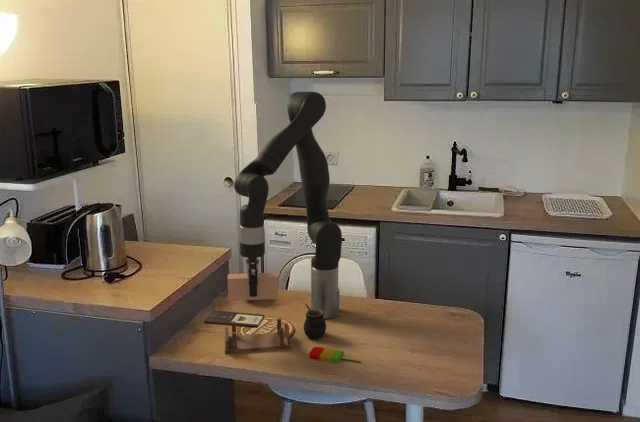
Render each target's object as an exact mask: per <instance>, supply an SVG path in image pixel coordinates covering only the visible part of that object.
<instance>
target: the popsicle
mask: <svg viewBox="0 0 640 422" xmlns="http://www.w3.org/2000/svg"><path fill="white" fill-rule="evenodd" d="M308 354H309V356H308V357H309V359H311V360H317V361H322V362H327V363H332V364H333V363H335V364H339V363H340V361H341V360H346V361H353V362H359V363H360V362H361V359H360V358H353V357H350V356H349V357H347V356H344V354H345V352H344V350H342V349H335V348H328V347H322V346H314V347H312V349H311V350H310V351H309V353H308Z"/></svg>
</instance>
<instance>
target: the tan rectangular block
mask: <svg viewBox="0 0 640 422" xmlns="http://www.w3.org/2000/svg"><path fill="white" fill-rule="evenodd" d="M251 281H256V280H251ZM257 282H258V284H257V296H256V297H250V287H249V278H248V277H247V273H228V274H227V298H228V299H227V301H228V302H232V301H255V300H258V301H260V300H277V299H279V276H278V271H277V272H259V277H257Z"/></svg>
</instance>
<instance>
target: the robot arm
mask: <svg viewBox="0 0 640 422" xmlns="http://www.w3.org/2000/svg"><path fill="white" fill-rule="evenodd" d="M326 103H327V102H326V99H325V97H324V96H323V95H322V94H321V93H319V92H317V91H295V92H293V93H291V94H290V96H289V97H288V99H287V103H286V104H287V106H286V108H287V115H288V120H289V124H288V125H287V126H286V127H284V128H283V129H282V130H280V131H279V132H278V133H276V135H273V137H271V138H270V140H268V142H266V144H265V145H264V147H263V148H262V150H261V151H260V152H259V153H258V155H257V157H256V158H254V160H252V161H251V162H249V163H248V164H247V165H246V166H245V167H243V168H242V170H241V171H240V172H239V173H238V174H237V176H236V177H235V179H234V183H233V188H234V191H235V193H237V194H238V195H239V196H242V197H247V198H248V201H247V204H244V205H241V207H240V208H239V209H240V210H239V232H238V233H239V254H240V256H241V257H243V258H246V259H245V267H246V274H247V277H248V278H249V287H250V297H256V296H257V284H258V282H257V277H259V273H260V270H259V268H260V258H261V257H263V256H264V255H265V254H266V238H265V237H266V236H265V234H266V232H265V225H264V224H265V221H264V218H265V216H264V211H265V208H266V204H267V200H268V195H269V193H270V192H269V191H270V190H269V189H270V188H269V183H268V180H267V179H266V178H265V177H266V176H272V175H273V174H274V175H275V173H276V172H277V171H278V169H279V168H280V167H281V165H282V163H284V162H283V161H285V159H286V158H287V156H288V155H289V154H290V152H291V151H293V148H294V147H295V149H296V154H297V160H298V167H299V174H300V175H299V176H300V180H301V185H302V192H303V198H304V202H305V208H306V225H307V227H306V228H307V229H306V230H307V235H308V237H309V239H310V240H311V242H312V243H314V244H315V252H314V253H315V255H313V256H311V259H310V260H311V261H310V310H314V309H317V310H321V311H323V313H324V314H323V315H324V316H323V318H324V320H325V319H333V318H335V317H339V316H340V294H341V293H340V292H341V291H340V288H339V262H340V261H341V260H340V259H341V257H342V245H343V244H342V243H343V241H342V239H343V236H342V234H343V233H342V230H341V227H340V226H339V225H338V224H337V223H336V222H333V221H332V220H331V218H330V214H329V211H328V203H327V198H328V194H329V189H330V183H331V180H330V172H329V164H328V160H327V157H326V154H325V153H324V151H323V149H322V148H321V146H320V145H319V142H318V141H317V139H316V138H315V136H314V133H313V127H315V125H317V124H318V123H319V121H320V120H321V119H322V118H323V116H324V115H325V113H326V108H327V104H326ZM251 280H256V281H251Z"/></svg>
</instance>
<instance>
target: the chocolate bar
mask: <svg viewBox="0 0 640 422" xmlns="http://www.w3.org/2000/svg"><path fill="white" fill-rule="evenodd" d="M264 318H265V314H261V313H249V312H236V311H225V310H215V309H214V310H212V311H211V312H210V314H209V315H208V316H207V317H206V319H204V321H203V323H204V324H210V325H211V324H212V325H213V324H214V325H222V326H232V321H236V327H245V328H253V329H254V328H256V329H257V327H258V326H259V324H260V323H261V321H262V320H263V319H264Z"/></svg>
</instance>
